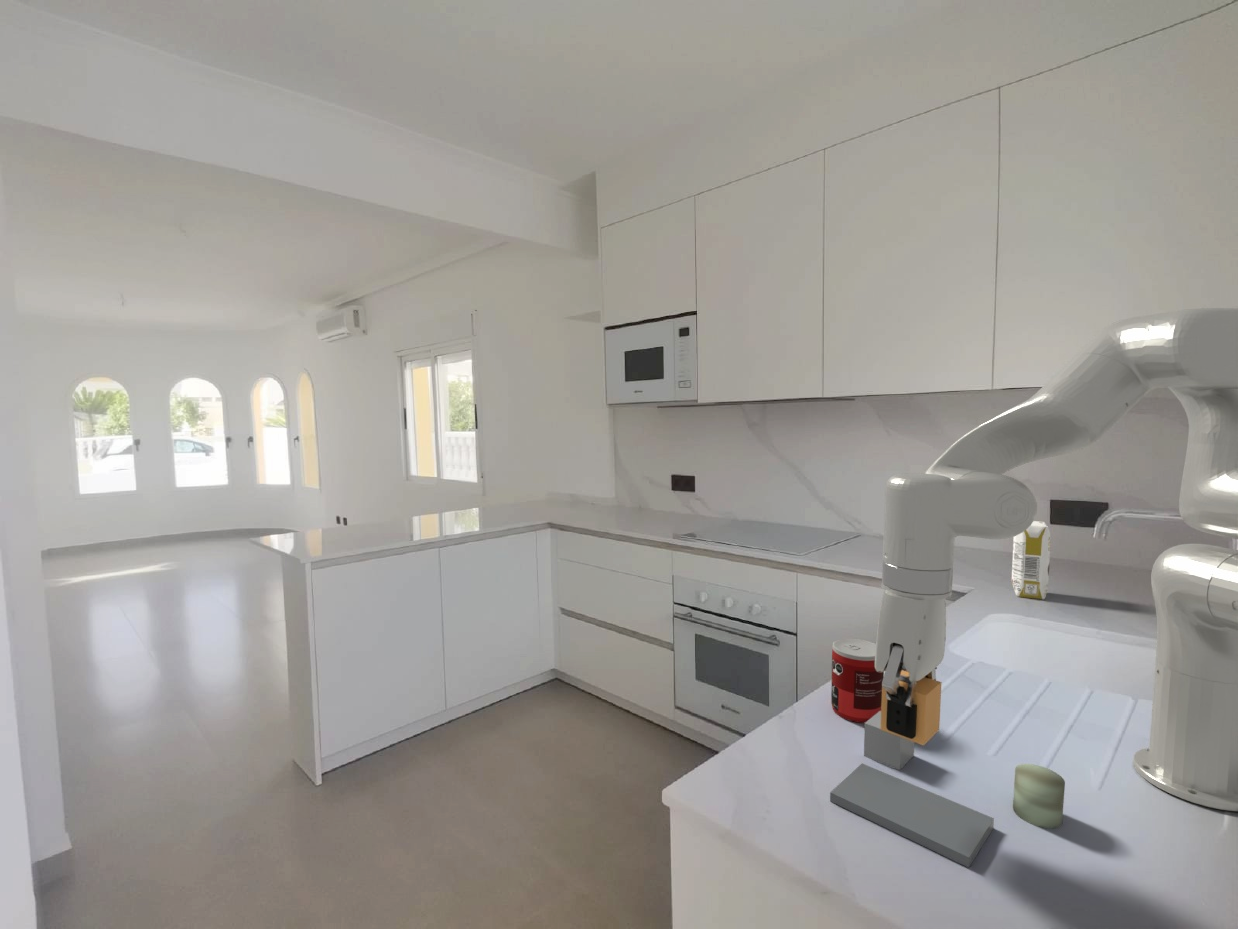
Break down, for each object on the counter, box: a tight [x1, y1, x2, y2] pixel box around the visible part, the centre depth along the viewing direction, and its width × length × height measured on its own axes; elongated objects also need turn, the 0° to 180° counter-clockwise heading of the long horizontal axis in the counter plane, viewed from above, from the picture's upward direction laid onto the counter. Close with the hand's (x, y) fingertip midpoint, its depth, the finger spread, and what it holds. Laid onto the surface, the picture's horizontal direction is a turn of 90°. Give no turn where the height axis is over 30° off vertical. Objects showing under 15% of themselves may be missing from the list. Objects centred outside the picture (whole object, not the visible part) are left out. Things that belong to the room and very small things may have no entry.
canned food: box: [830, 638, 885, 724], centre depth 100 cm, size 8×8×11 cm
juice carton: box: [1011, 520, 1052, 600], centre depth 160 cm, size 8×9×19 cm
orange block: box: [881, 670, 942, 746], centre depth 74 cm, size 5×5×6 cm
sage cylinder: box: [1012, 763, 1066, 829], centre depth 75 cm, size 5×5×5 cm
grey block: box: [863, 711, 915, 771], centre depth 88 cm, size 5×5×5 cm
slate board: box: [829, 763, 995, 869], centre depth 76 cm, size 9×16×1 cm, turn 44°
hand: (910, 723), depth 74 cm, fingers closed on orange block, 5 cm apart
